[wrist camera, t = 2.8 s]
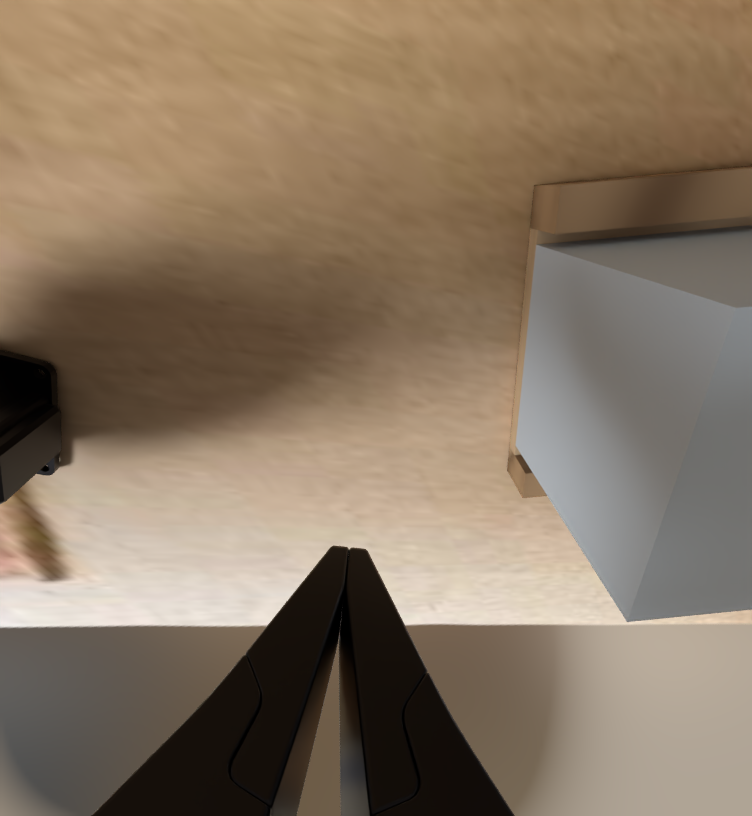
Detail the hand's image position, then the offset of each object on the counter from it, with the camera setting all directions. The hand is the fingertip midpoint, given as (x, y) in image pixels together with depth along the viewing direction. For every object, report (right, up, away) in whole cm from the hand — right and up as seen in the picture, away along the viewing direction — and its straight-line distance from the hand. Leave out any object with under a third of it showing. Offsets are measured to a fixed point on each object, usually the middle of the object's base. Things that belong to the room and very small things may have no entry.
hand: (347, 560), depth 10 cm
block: (+12, +6, +10) cm, 17 cm away
